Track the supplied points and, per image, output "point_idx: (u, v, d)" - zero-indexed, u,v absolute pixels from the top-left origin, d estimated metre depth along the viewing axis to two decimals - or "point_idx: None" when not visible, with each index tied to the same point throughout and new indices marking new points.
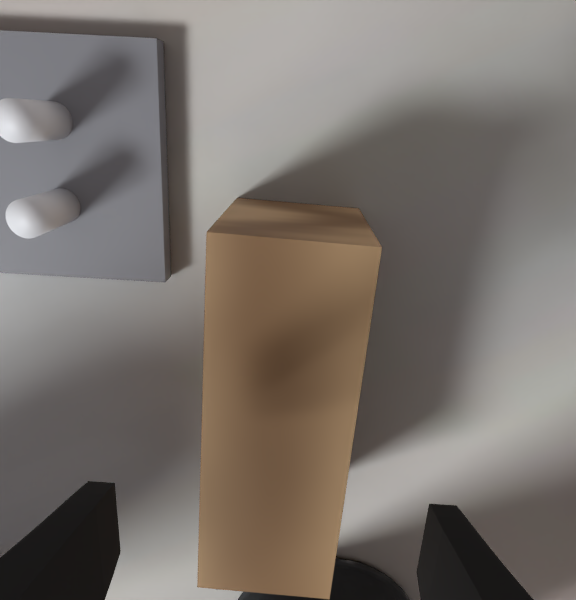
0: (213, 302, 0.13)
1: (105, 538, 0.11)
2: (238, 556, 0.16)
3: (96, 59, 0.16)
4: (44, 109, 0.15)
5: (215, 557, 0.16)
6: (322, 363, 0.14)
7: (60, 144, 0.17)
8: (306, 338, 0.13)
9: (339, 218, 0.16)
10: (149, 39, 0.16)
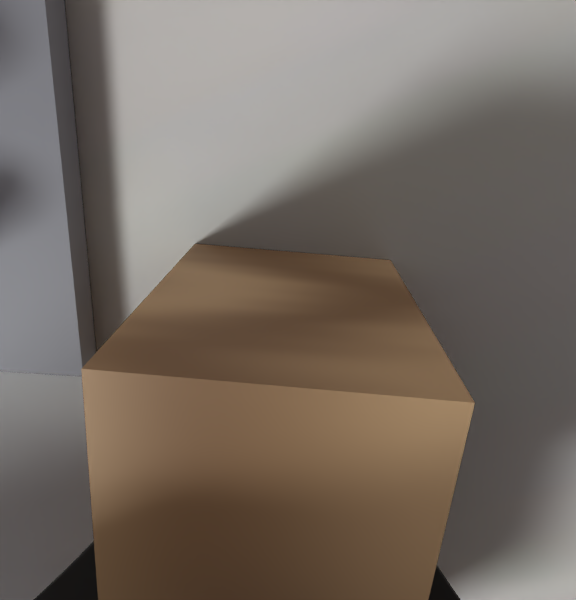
0: (109, 503, 0.06)
1: None
2: None
3: None
4: None
5: None
6: None
7: None
8: (305, 569, 0.06)
9: (364, 293, 0.09)
10: None
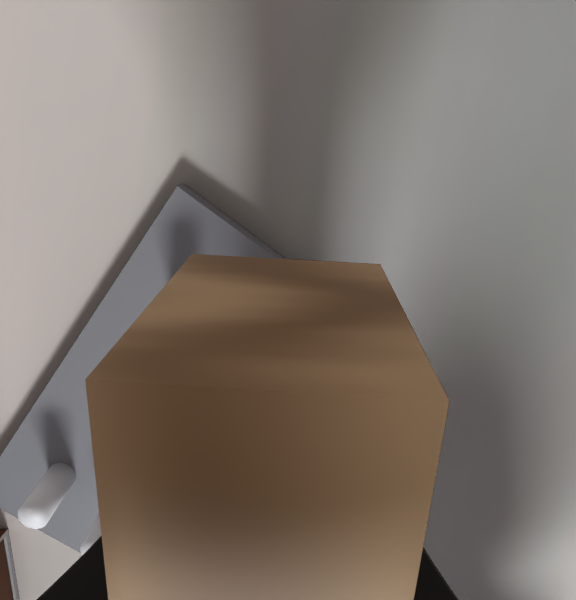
0: (115, 503, 0.07)
1: None
2: None
3: (164, 241, 0.18)
4: None
5: None
6: (332, 599, 0.07)
7: None
8: (300, 560, 0.07)
9: (353, 298, 0.09)
10: (174, 192, 0.17)
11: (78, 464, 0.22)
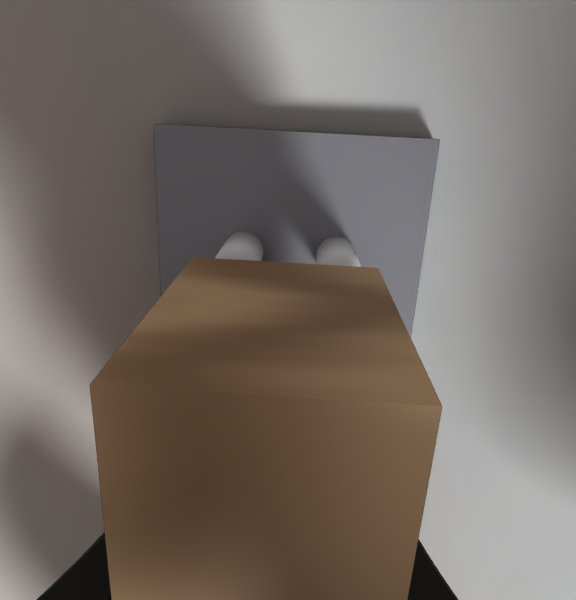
0: (118, 503, 0.07)
1: None
2: None
3: (179, 195, 0.15)
4: (224, 247, 0.14)
5: None
6: (328, 597, 0.07)
7: (268, 248, 0.15)
8: (297, 559, 0.07)
9: (350, 303, 0.09)
10: (156, 132, 0.14)
11: None
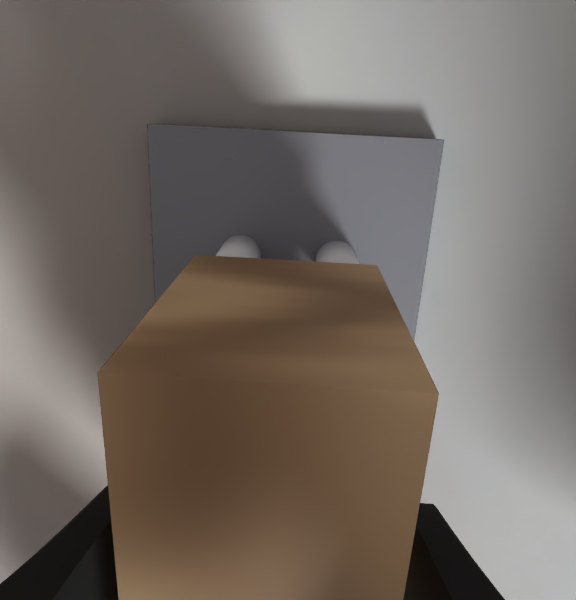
0: (124, 489, 0.07)
1: None
2: None
3: (174, 198, 0.14)
4: (220, 251, 0.13)
5: None
6: (329, 582, 0.08)
7: (266, 252, 0.15)
8: (298, 544, 0.07)
9: (350, 298, 0.10)
10: (149, 133, 0.14)
11: None
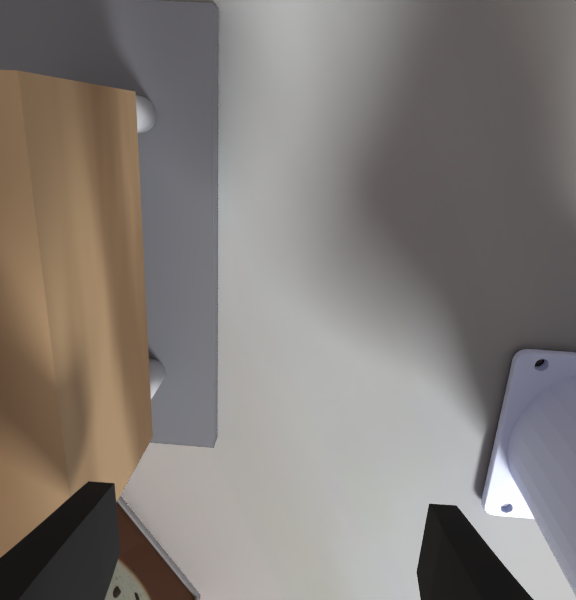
0: None
1: (105, 538, 0.11)
2: None
3: (1, 59, 0.17)
4: None
5: None
6: None
7: None
8: None
9: None
10: None
11: None
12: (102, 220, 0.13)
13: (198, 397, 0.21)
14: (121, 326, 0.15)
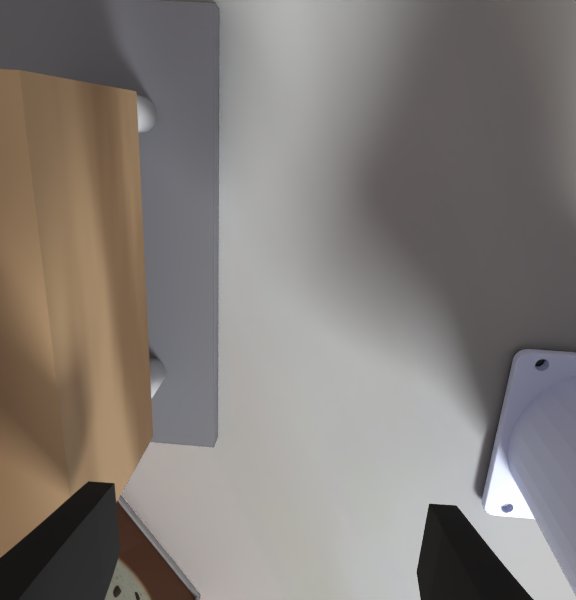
0: None
1: (105, 538, 0.11)
2: None
3: (3, 59, 0.17)
4: None
5: None
6: None
7: None
8: None
9: None
10: None
11: None
12: (103, 219, 0.13)
13: (198, 397, 0.21)
14: (122, 325, 0.15)
